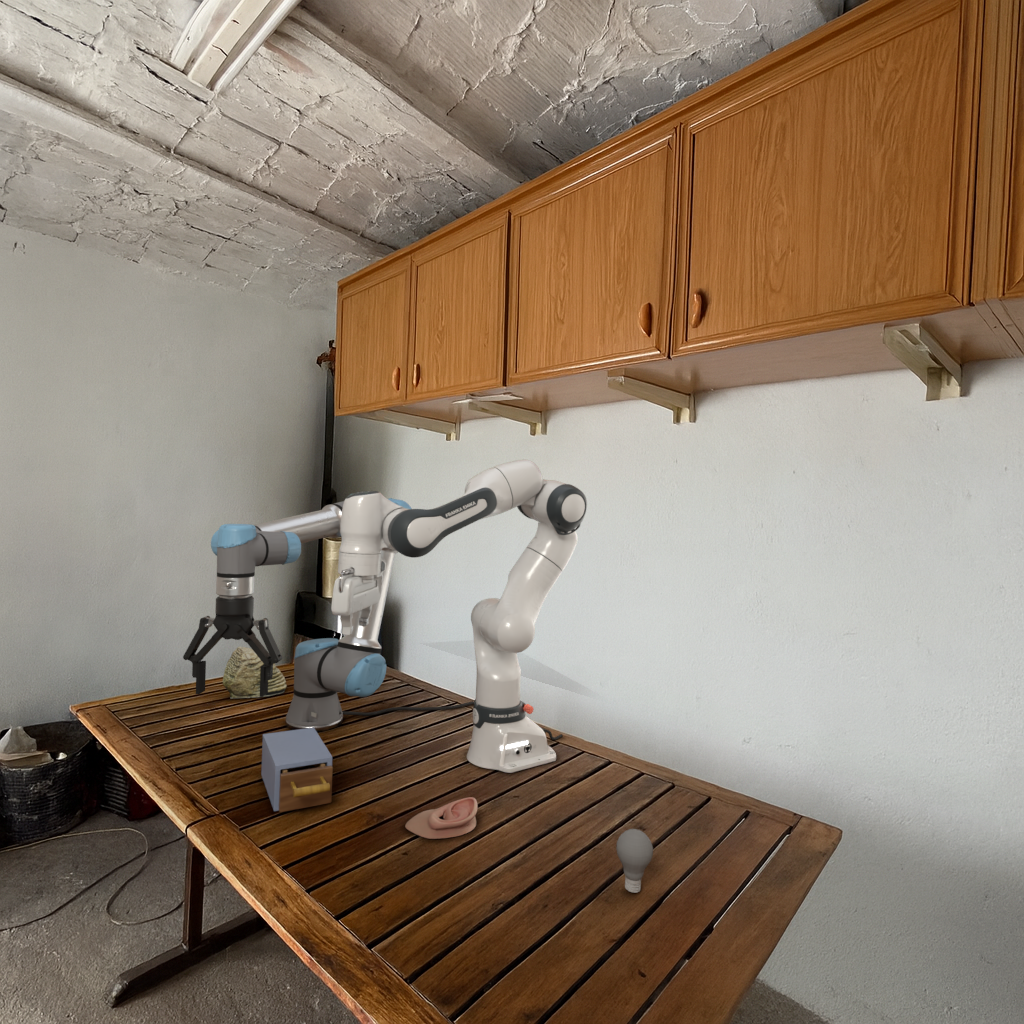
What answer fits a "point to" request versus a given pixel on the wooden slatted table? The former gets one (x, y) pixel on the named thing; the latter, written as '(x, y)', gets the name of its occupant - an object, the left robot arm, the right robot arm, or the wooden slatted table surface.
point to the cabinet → (290, 756)
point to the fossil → (249, 675)
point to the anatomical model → (445, 820)
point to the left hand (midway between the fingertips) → (232, 693)
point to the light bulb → (634, 857)
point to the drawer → (305, 786)
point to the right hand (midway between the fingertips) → (355, 629)
